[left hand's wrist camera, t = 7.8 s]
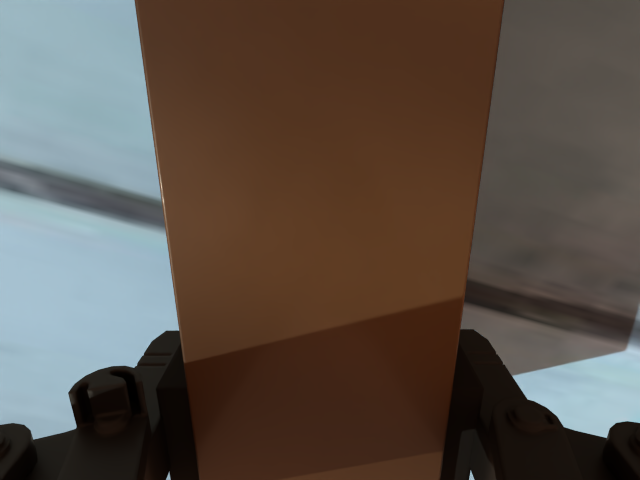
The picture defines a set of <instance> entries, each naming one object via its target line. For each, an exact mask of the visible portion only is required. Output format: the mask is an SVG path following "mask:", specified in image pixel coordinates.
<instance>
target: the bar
mask: <svg viewBox="0 0 640 480" xmlns="http://www.w3.org/2000/svg"><path fill="white" fill-rule="evenodd" d="M135 7H136V14H137V21H138V29H139V36H140V43H141V51H142V58H143V66H144V73H145V80H146V88H147V95H148V103H149V110H150V117H151V125H152V132H153V140H154V147H155V154H156V162H157V169H158V177H159V184H160V191H161V199H162V206H163V213H164V221H165V228H166V236H167V243H168V250H169V258H170V265H171V273H172V280H173V287H174V295H175V302H176V310H177V317H178V324H179V332H180V339H181V346H182V354H183V361H184V369H185V376H186V383H187V391H188V398H189V406H190V413H191V420H192V428H193V435H194V443H195V450H196V457H197V465H198V472H199V480H440V476H441V469H442V461H443V454H444V446H445V439H446V431H447V424H448V417H449V409H450V402H451V394H452V387H453V379H454V372H455V364H456V357H457V350H458V342H459V335H460V327H461V320H462V312H463V305H464V298H465V290H466V283H467V275H468V268H469V260H470V253H471V246H472V238H473V231H474V223H475V216H476V208H477V201H478V193H479V186H480V179H481V171H482V164H483V156H484V149H485V141H486V134H487V127H488V119H489V112H490V104H491V97H492V89H493V82H494V75H495V67H496V60H497V52H498V45H499V37H500V30H501V22H502V15H503V8H504V0H135Z"/></svg>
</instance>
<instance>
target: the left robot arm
mask: <svg viewBox="0 0 640 480" xmlns="http://www.w3.org/2000/svg"><path fill="white" fill-rule="evenodd" d="M68 394H69V398H70V402H71V406H72V409H73V413H74V417H75V421H76V425H77V428H76V429H74V430H71V431H68V432H65V433H60V434H56V435H52V436H48V437H43V438H39V439H35V440H33V437H32V434H31V431H30V430H29V429H28V428H27V427H26V426H25V425H21V424H15V423H11V424H4V425H0V480H166V478H167V475H168V473H169V472H170V478H171V480H199V472H198V465H197V457H196V450H195V443H194V435H193V428H192V420H191V413H190V406H189V398H188V391H187V383H186V376H185V369H184V361H183V354H182V346H181V339H180V332H179V331H165V332H164V333H163V334H161V335H160V336H159V337H157V338H156V339H155V340H153V341H152V342H151V344H150V345H149V347H148V348H147V350H146V351H145V353H144V356H142V357H141V359H140V360H139V362H138V363H137V366H135V368H132V367H128V366H112V367H108V368H104V369H100V370H97V371H95V372H93V373H91V374H89V375H86V376H85V377H83V378H82V379H81V380H79V381H78V382H77V383H75V384H74V386H73V387H72V388H71V390H70V391H69V393H68ZM470 470H471V472H472V474H473V477H474V479H475V480H640V423H635V422H628V421H627V422H620V423H616V424H615V425H613V426H612V427H611V428H610V430H609V433H608V436H607V438H604V437H600V436H595V435H591V434H587V433H583V432H578V431H574V430H571V429H568V428H565V427H563V425H562V424H561V422H560V420H559V419H558V417H557V416H556V415H555V414H553V413H552V412H551V411H550V410H549V409H547V408H546V407H544V406H542V405H540V404H538V403H536V402H534V401H531V400H527V398H526V397H525V395H524V394H523V392H522V391H521V389H520V388H519V386H518V385H517V383H516V382H515V380H514V379H513V377H512V376H511V374H510V373H509V371H508V370H507V368H506V366H505V365H503V362H502V360H501V359H500V357H499V356H498V354H496V351H495V350H494V348H493V347H492V345H491V344H490V342H489V341H488V340H487V339H486V338H485V337H483V336H482V335H480V334H479V333H478V332H476V331H475V330H474V329H460V335H459V342H458V350H457V357H456V364H455V372H454V379H453V387H452V394H451V402H450V409H449V417H448V424H447V431H446V439H445V446H444V454H443V461H442V469H441V476H440V480H469V476H470Z"/></svg>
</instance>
